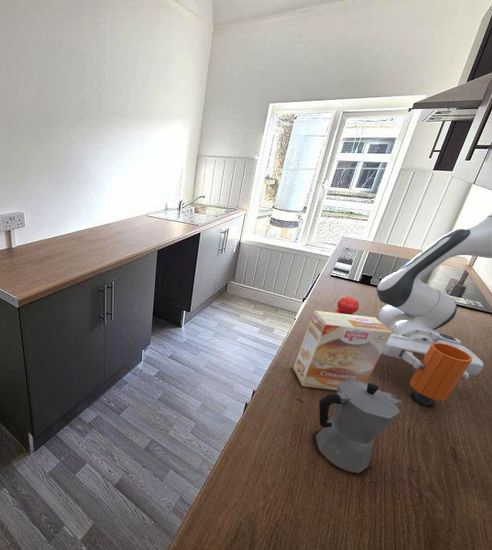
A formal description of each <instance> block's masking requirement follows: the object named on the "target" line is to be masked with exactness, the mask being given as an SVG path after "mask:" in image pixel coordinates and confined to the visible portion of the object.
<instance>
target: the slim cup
mask: <svg viewBox="0 0 492 550" xmlns="http://www.w3.org/2000/svg"><path fill="white" fill-rule="evenodd" d="M413 398H414V399H415V401H417V403H420V404H422V405H424V406H431V405H432V404H433V403H434V401H435V399H431V398H429V397H426V396H424V395H422V394H420V393H419V392H417V391H416V392H415V394H414V396H413Z"/></svg>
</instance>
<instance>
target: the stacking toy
mask: <svg viewBox="0 0 492 550" xmlns="http://www.w3.org/2000/svg"><path fill="white" fill-rule="evenodd" d="M336 307H337V309H334V311H333V313H340V314H349V315H354V314H355V313H356V312H357V311H358V310H359V308H360V304H359V302H358V300H357V299H355V298H354V297H351V296H344V297H341V298H340V299H339V300H338V301H337V306H336Z"/></svg>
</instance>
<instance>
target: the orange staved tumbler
mask: <svg viewBox="0 0 492 550" xmlns="http://www.w3.org/2000/svg"><path fill="white" fill-rule="evenodd" d="M422 361H423V362H424V363H425V365H426V366H425V367H424V370H420V369H415V372H414V374H412V375H413V376H412V377H411V378H410V381H409V385H410V386H411V387H412V388H411V389H413V390H414V391H416V392H419V393H420V394H422V395H424V396H426V397H429V398H431V399H434V401H439V402H442V401H446V400H447V399H448V398H449V396H450V395H451V393H452V392H453V390H454V388H456V386H457V384H458V382H459V381H460V380H461V379H460V378H461V376H462V375H463V373H464V372H465V370H466V369H467V367H468V366H469V364H470V363H471V361H472V357H471V356H470V355H469V354H468V353H466V352H464V351H462V350H460V349H459V348H456V347H453V346H451V345H448V344H443V343H438V342H437V343H432V344H431V346H430V347H429V349H428V351H427V353H426V354H425V356H424V358H423V360H422Z"/></svg>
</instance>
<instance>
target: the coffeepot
mask: <svg viewBox="0 0 492 550" xmlns="http://www.w3.org/2000/svg"><path fill="white" fill-rule="evenodd" d="M399 403H402V400H401V399H399V398H398V397H397V395H394V394H392V393H389V392H386V391H384V390H383V391H382V390H380V388H379V386H378V385H377V384H375V383H373V382H369V383H368V382H367V383H362V382H358V381H354V380H350V379H348V380H346V381H344V382H342V383H340V384H338V389H337V390H336V393H328V394H326V395H324V397H321V399H320V400H319V403H318V406H319V425H320V427H321V429H320V430H319V432H318V433H317V434H316V435H315V440H316V445H317V448H318V450H319V452H320V453H321V455H323V457H324V458H325V459H326V460H327V461H329V462H330V463H331V464H332V465H334V466H335V467H337V468H339V469H341V470H343V471H346V472H350V473H356V474H359V473H361V472H363V471H364V470H365V469H367V468H368V467H369V466H370V461H371V457H372V453H373V448H374V444H375V441H374V439H375V438H376V437H378V436H379V435H380V434H382V432H383V431H384V430H385V429H386V428H387V427H388V426H389V425H390V424H391V423H392V422H393V420H395V418H397V416H398V415H399V414H400V413H401V411H400V409H399V407H398V405H397V404H399ZM332 405H333V410H332V412H333V416H332V417H331V418H330V419H329V410H330V406H332Z"/></svg>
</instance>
